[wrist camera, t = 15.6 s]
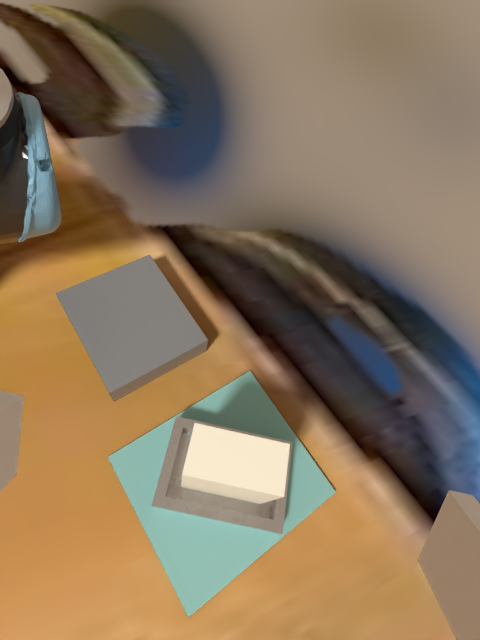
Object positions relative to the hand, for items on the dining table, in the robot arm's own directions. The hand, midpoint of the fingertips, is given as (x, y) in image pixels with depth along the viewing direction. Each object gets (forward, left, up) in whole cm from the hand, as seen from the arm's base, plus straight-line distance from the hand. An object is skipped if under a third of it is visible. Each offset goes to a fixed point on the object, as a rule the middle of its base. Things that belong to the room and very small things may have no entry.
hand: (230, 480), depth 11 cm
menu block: (+4, +1, -29) cm, 29 cm away
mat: (+4, +1, -30) cm, 30 cm away
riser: (+4, +21, -30) cm, 37 cm away
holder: (+4, +1, -30) cm, 30 cm away
